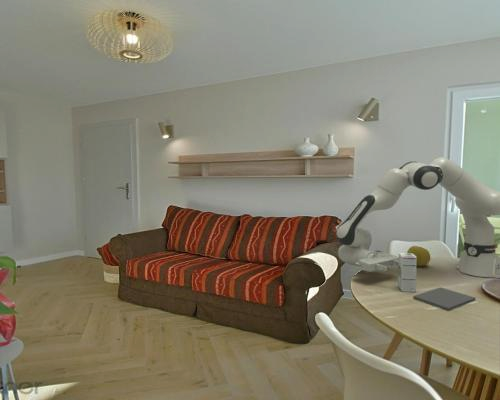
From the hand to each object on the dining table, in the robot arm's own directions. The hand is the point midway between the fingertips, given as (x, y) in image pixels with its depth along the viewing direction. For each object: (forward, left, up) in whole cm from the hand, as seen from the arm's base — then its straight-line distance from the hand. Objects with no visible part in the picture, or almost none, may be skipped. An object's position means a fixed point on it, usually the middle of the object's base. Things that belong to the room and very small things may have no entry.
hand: (394, 267), depth 140 cm
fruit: (-36, -12, -8) cm, 39 cm away
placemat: (-2, +20, -8) cm, 21 cm away
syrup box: (0, +6, -8) cm, 10 cm away
